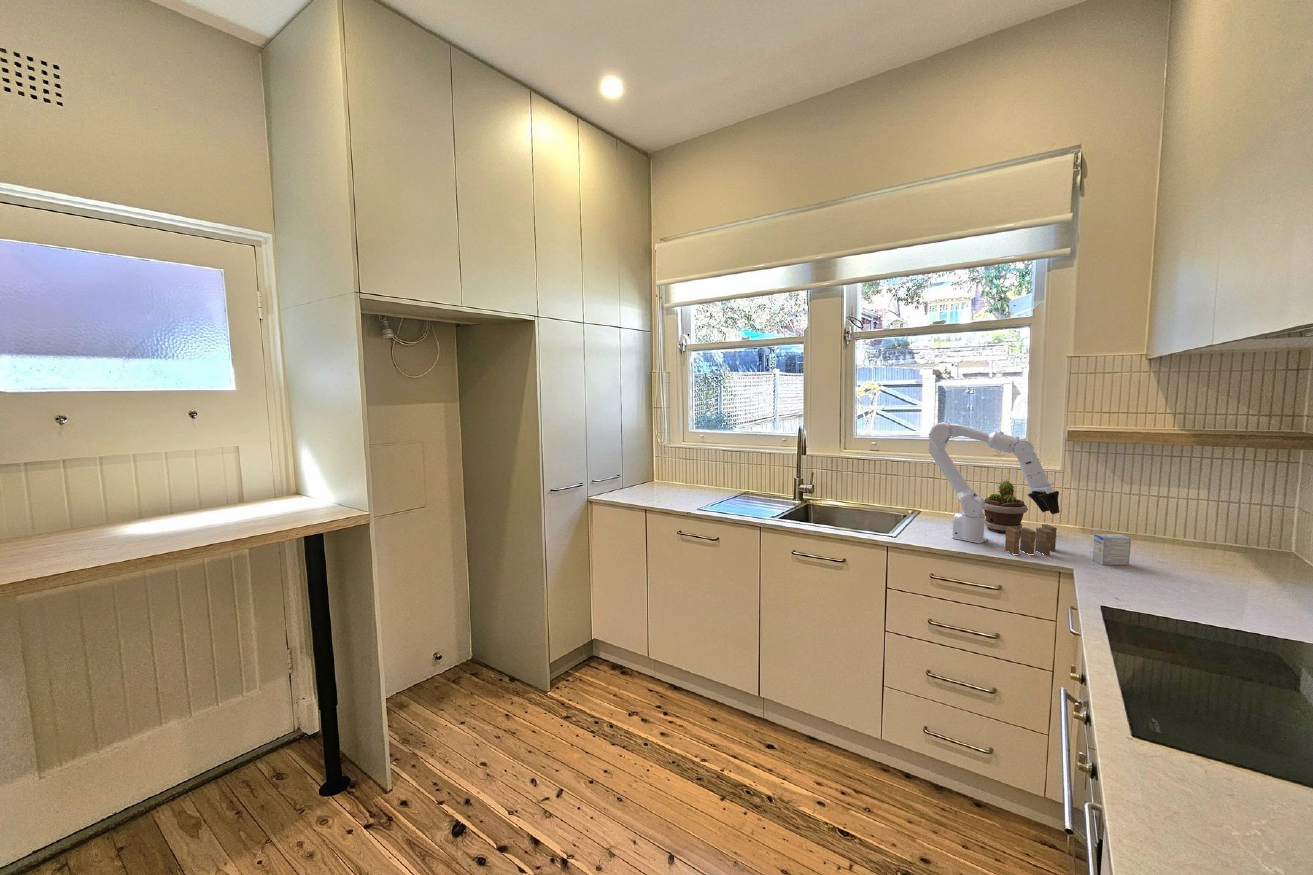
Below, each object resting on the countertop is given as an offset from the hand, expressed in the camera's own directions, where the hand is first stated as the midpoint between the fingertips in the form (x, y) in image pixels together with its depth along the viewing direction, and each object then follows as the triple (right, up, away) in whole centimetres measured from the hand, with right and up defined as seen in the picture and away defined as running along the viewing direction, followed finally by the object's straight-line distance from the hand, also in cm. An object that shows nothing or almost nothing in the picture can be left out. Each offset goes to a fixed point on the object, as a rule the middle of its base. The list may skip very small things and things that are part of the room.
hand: (1050, 512), depth 178 cm
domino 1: (-14, -13, -1) cm, 19 cm away
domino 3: (-4, -13, -2) cm, 14 cm away
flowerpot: (+1, -11, +26) cm, 28 cm away
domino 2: (-9, -13, -1) cm, 16 cm away
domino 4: (+1, -13, +3) cm, 13 cm away
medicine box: (+10, -14, -12) cm, 21 cm away
